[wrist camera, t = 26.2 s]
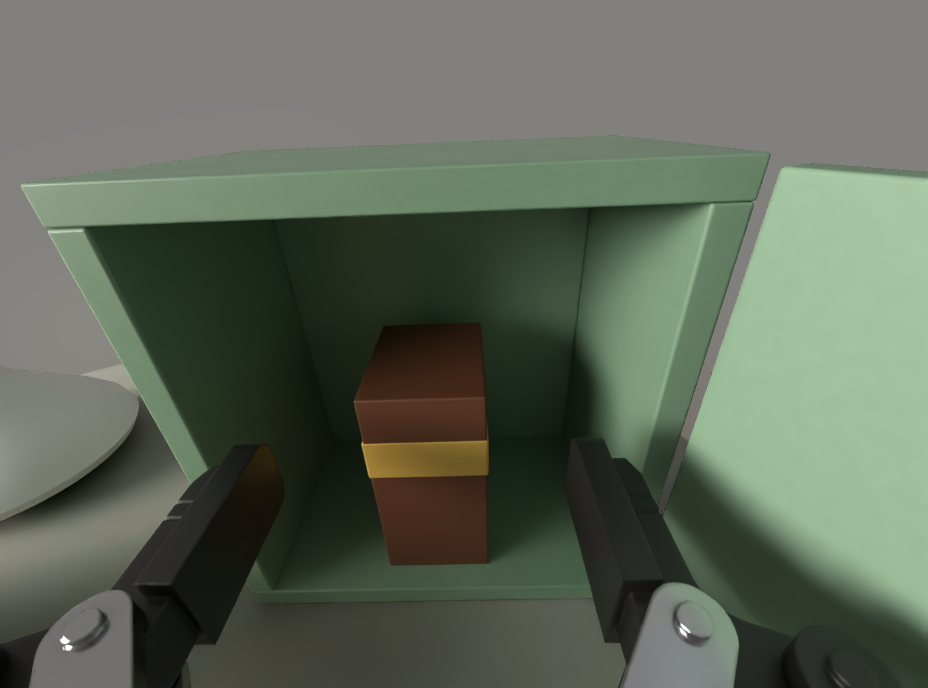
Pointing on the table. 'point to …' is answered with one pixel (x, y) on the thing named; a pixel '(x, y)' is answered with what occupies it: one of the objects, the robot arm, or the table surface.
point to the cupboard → (413, 323)
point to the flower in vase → (56, 432)
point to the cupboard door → (821, 421)
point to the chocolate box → (428, 442)
